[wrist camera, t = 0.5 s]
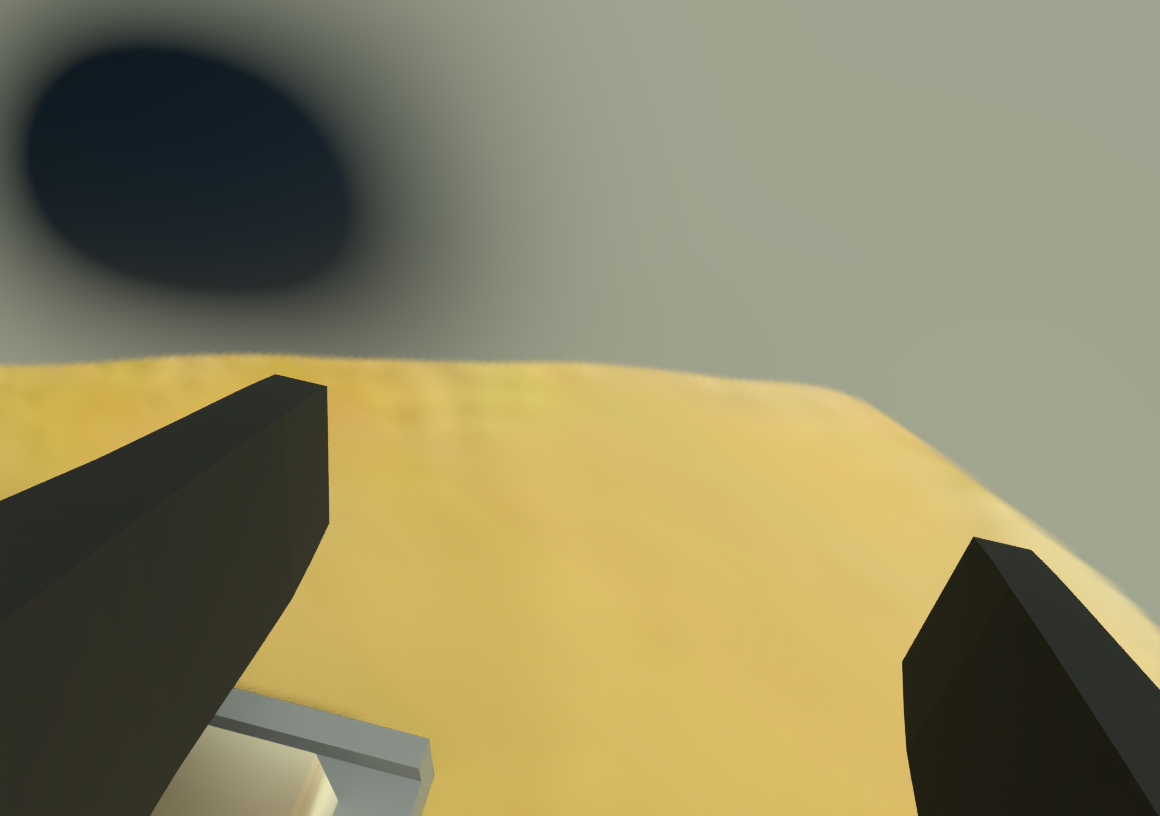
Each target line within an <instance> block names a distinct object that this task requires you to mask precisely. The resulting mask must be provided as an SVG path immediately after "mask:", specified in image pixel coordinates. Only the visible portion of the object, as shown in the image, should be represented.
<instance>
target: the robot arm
mask: <svg viewBox="0 0 1160 816" xmlns="http://www.w3.org/2000/svg"><path fill="white" fill-rule="evenodd" d="M328 525H329V475H328V413H327V386H323V385H319V384H315V383H310V382H306V381H302V380H298V379H293V378H289V377H285V376H280V375H276V374H275V375H273V376H270V377H268V378H265V379H263V380H261V381H258V382H256V383H254V384H252V385H250V386H247V387H245V388H243V389H241V390H239V391H237V392H235V393H233V394H231V395H229V396H226V397H224V398H222V399H220V400H218V401H216V402H214V403H212V404H210V405H208V406H206V407H204V408H202V409H200V410H198V411H196V412H194V413H192V414H190V415H188V416H186V417H184V418H182V419H180V420H177V421H175V422H173V423H171V424H169V425H167V426H165V427H163V428H161V429H159V430H157V431H155V432H152V433H150V434H148V435H146V436H144V437H142V438H140V439H138V440H136V441H134V442H132V443H130V444H127V445H125V446H123V447H121V448H119V449H117V450H115V451H113V452H111V453H109V454H107V455H104V456H102V457H100V458H98V459H96V460H94V461H91V462H89V463H87V464H84V465H82V466H80V467H77V468H75V469H73V470H70V471H68V472H66V473H64V474H61V475H59V476H57V477H54V478H52V479H50V480H47V481H45V482H43V483H40V484H38V485H36V486H33V487H31V488H29V489H27V490H24V491H22V492H20V493H17V494H15V495H13V496H10V497H8V498H6V499H3V500H1V501H0V816H150V815H151V814H152V812H153V810H154V808H155V807H156V805H157V804H158V802H159V800H160V799H161V797H162V795H163V794H164V792H165V791H166V789H167V787H168V786H169V784H170V782H171V781H172V779H173V777H174V776H175V774H176V773H177V771H178V769H179V768H180V766H181V765H182V763H183V762H184V760H185V759H186V757H187V756H188V754H189V753H190V751H191V750H192V748H193V747H194V745H195V744H196V742H197V741H198V739H199V738H200V736H201V735H202V733H203V732H204V730H205V729H206V728H207V726H208V725H209V723H210V722H211V720H212V719H213V717H214V716H215V714H216V713H217V711H218V710H219V708H220V707H221V705H222V704H223V702H224V701H225V699H226V698H227V696H228V695H229V693H230V692H231V690H232V689H233V687H234V686H235V684H236V683H237V681H238V680H239V678H240V677H241V675H242V674H243V672H244V671H245V669H246V668H247V666H248V665H249V663H250V662H251V660H252V659H253V657H254V656H255V654H256V653H257V651H258V650H259V648H260V647H261V645H262V644H263V642H264V641H265V639H266V638H267V636H268V635H269V633H270V632H271V630H272V629H273V627H274V626H275V624H276V623H277V621H278V619H279V618H280V616H281V615H282V613H283V612H284V610H285V609H286V607H287V606H288V604H289V602H290V601H291V599H292V598H293V596H294V594H295V592H296V590H297V588H298V586H299V584H300V582H301V580H302V578H303V576H304V574H305V572H306V570H307V568H308V566H309V564H310V562H311V560H312V558H313V556H314V554H315V552H316V550H317V548H318V546H319V544H320V541H321V539H322V537H323V535H324V533H325V531H326V529H327V527H328ZM902 671H903V700H904V720H905V735H906V750H907V756H908V762H909V768H910V774H911V779H912V785H913V790H914V796H915V801H916V807H917V812H918V816H1160V689H1159V688H1158V687H1157V686H1156V685H1155V684H1154V683H1153V682H1152V681H1151V679H1150V678H1149V677H1148V676H1147V675H1146V674H1145V673H1144V672H1143V671H1142V670H1141V668H1140V667H1139V666H1138V665H1137V664H1136V663H1135V662H1134V661H1133V660H1132V658H1131V657H1130V656H1129V655H1128V654H1127V653H1126V652H1125V651H1124V649H1123V648H1122V647H1121V646H1120V645H1119V644H1118V643H1117V642H1116V641H1115V639H1114V638H1113V637H1112V636H1111V635H1110V634H1109V633H1108V632H1107V630H1106V629H1105V628H1104V627H1103V626H1102V625H1101V624H1100V623H1099V622H1098V620H1097V619H1096V618H1095V617H1094V616H1093V615H1092V614H1091V613H1090V612H1089V610H1088V609H1087V608H1086V607H1085V606H1084V605H1083V604H1082V603H1081V602H1080V600H1079V599H1078V598H1077V597H1076V596H1075V595H1074V594H1073V593H1072V592H1071V591H1070V589H1069V588H1068V587H1067V586H1066V585H1065V584H1064V583H1063V582H1062V581H1061V580H1060V579H1059V578H1058V577H1057V575H1056V574H1055V573H1054V572H1053V571H1052V570H1051V569H1050V568H1049V567H1048V566H1047V565H1046V564H1045V563H1044V562H1043V561H1042V560H1041V559H1040V558H1039V557H1038V556H1037V555H1036V554H1035V553H1034V552H1033V551H1032V550H1029V549H1024V548H1020V547H1016V546H1011V545H1007V544H1003V543H999V542H994V541H990V540H986V539H981V538H977V537H973V538H972V540H971V542H970V544H969V545H968V547H967V549H966V551H965V552H964V554H963V556H962V558H961V559H960V561H959V563H958V565H957V566H956V568H955V570H954V572H953V573H952V575H951V577H950V579H949V580H948V582H947V584H946V586H945V587H944V589H943V591H942V593H941V595H940V596H939V598H938V600H937V602H936V603H935V605H934V607H933V609H932V610H931V612H930V614H929V616H928V617H927V619H926V621H925V623H924V624H923V626H922V628H921V630H920V631H919V633H918V635H917V637H916V638H915V640H914V642H913V644H912V645H911V647H910V649H909V651H908V652H907V654H906V656H905V658H904V659H903V661H902Z"/></svg>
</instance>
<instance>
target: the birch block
mask: <svg viewBox="0 0 1160 816" xmlns="http://www.w3.org/2000/svg"><path fill="white" fill-rule="evenodd" d="M337 803H338V799H337V797H336V795H335V793H334V791H333V789H332V787H331V785H330V783H329V780H328V778H327V776H326V774H325V772H324V770H323V768H322V766H321V764H320V762H319V760H318V757H317V755H316V754H315V753H312V752H308V751H304V750H300V749H297V748H293V747H289V746H285V745H282V744H278V743H274V742H270V741H267V740H263V739H259V738H255V737H251V736H248V735H244V734H240V733H236V732H233V731H229V730H225V729H221V728H218V727H214V726H210V725H208V726H207V728H206V729H205V730H204V732H203V733H202V735H201V736H200V738H199V739H198V741H197V742H196V744H195V745H194V747H193V748H192V750H191V751H190V753H189V754H188V756H187V757H186V759H185V760H184V762H183V763H182V765H181V766H180V768H179V769H178V771H177V773H176V774H175V776H174V777H173V779H172V781H171V782H170V784H169V786H168V787H167V789H166V791H165V792H164V794H163V795H162V797H161V799H160V800H159V802H158V804H157V805H156V807H155V808H154V810H153V812H152V814H151V815H150V816H333V813H334V811H335V808H336V805H337Z"/></svg>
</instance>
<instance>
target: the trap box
mask: <svg viewBox="0 0 1160 816" xmlns="http://www.w3.org/2000/svg"><path fill="white" fill-rule="evenodd" d="M209 725H210V726H214V727H218V728H221V729H225V730H229V731H233V732H236V733H240V734H244V735H248V736H251V737H255V738H259V739H263V740H267V741H270V742H274V743H278V744H282V745H285V746H289V747H293V748H297V749H300V750H304V751H308V752H312V753H315V754H316V755H317V757H318V760H319V762H320V764H321V766H322V768H323V770H324V772H325V774H326V776H327V778H328V780H329V783H330V785H331V787H332V789H333V791H334V793H335V795H336V797H337V799H338V803H337V805H336V808H335V811H334V813H333V816H421V814H422V811H423V808H424V804H425V801H426V798H427V795H428V792H429V789H430V786H431V783H432V780H433V776H434V769H433V763H432V756H431V749H430V742H429V739H428V738H424V737H420V736H416V735H413V734H409V733H405V732H401V731H397V730H394V729H390V728H386V727H382V726H378V725H374V724H371V723H367V722H363V721H359V720H355V719H351V718H348V717H344V716H340V715H336V714H332V713H328V712H325V711H321V710H317V709H313V708H309V707H306V706H302V705H298V704H294V703H290V702H286V701H283V700H279V699H275V698H271V697H267V696H263V695H260V694H256V693H252V692H248V691H244V690H241V689H237V688H233V689H232V690H231V692H230V693H229V695H228V696H227V698H226V699H225V701H224V702H223V704H222V705H221V707H220V708H219V710H218V711H217V713H216V714H215V716H214V717H213V719H212V720H211V722H210V723H209Z"/></svg>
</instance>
